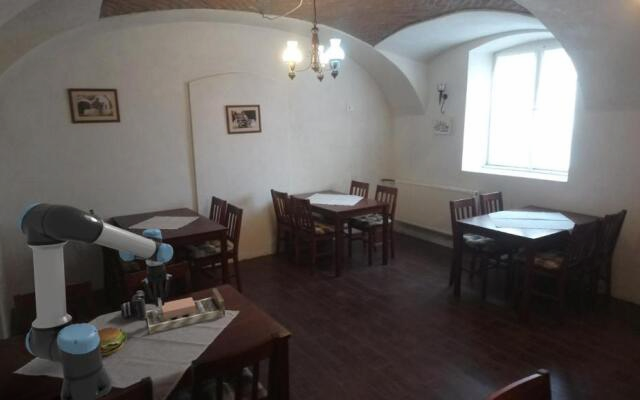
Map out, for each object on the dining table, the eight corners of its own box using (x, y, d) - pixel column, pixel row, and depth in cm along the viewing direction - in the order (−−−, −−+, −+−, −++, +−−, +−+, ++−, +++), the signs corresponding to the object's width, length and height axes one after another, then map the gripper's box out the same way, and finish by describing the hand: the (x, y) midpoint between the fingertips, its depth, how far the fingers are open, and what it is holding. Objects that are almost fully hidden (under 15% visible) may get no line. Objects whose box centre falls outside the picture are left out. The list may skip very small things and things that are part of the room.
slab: (164, 319, 184) (163, 312, 184) (161, 310, 193) (160, 303, 192) (196, 312, 190) (195, 305, 190) (192, 303, 199) (191, 297, 198)
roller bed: (149, 333, 179) (147, 317, 178) (147, 317, 194) (145, 302, 193) (225, 315, 193) (223, 300, 192) (217, 302, 208) (216, 288, 206)
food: (91, 363, 159) (88, 344, 157) (87, 346, 170) (84, 329, 169) (129, 351, 166) (127, 333, 165) (123, 336, 178) (121, 319, 176)
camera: (122, 310, 202) (119, 291, 200) (146, 306, 206) (144, 287, 204) (122, 323, 189) (119, 303, 187) (147, 318, 194) (145, 298, 192)
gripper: (140, 268, 177) (146, 319, 182) (171, 263, 183) (176, 312, 188) (139, 263, 184) (144, 312, 189) (169, 258, 190) (174, 306, 194)
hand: (160, 312), depth 188 cm, fingers closed
